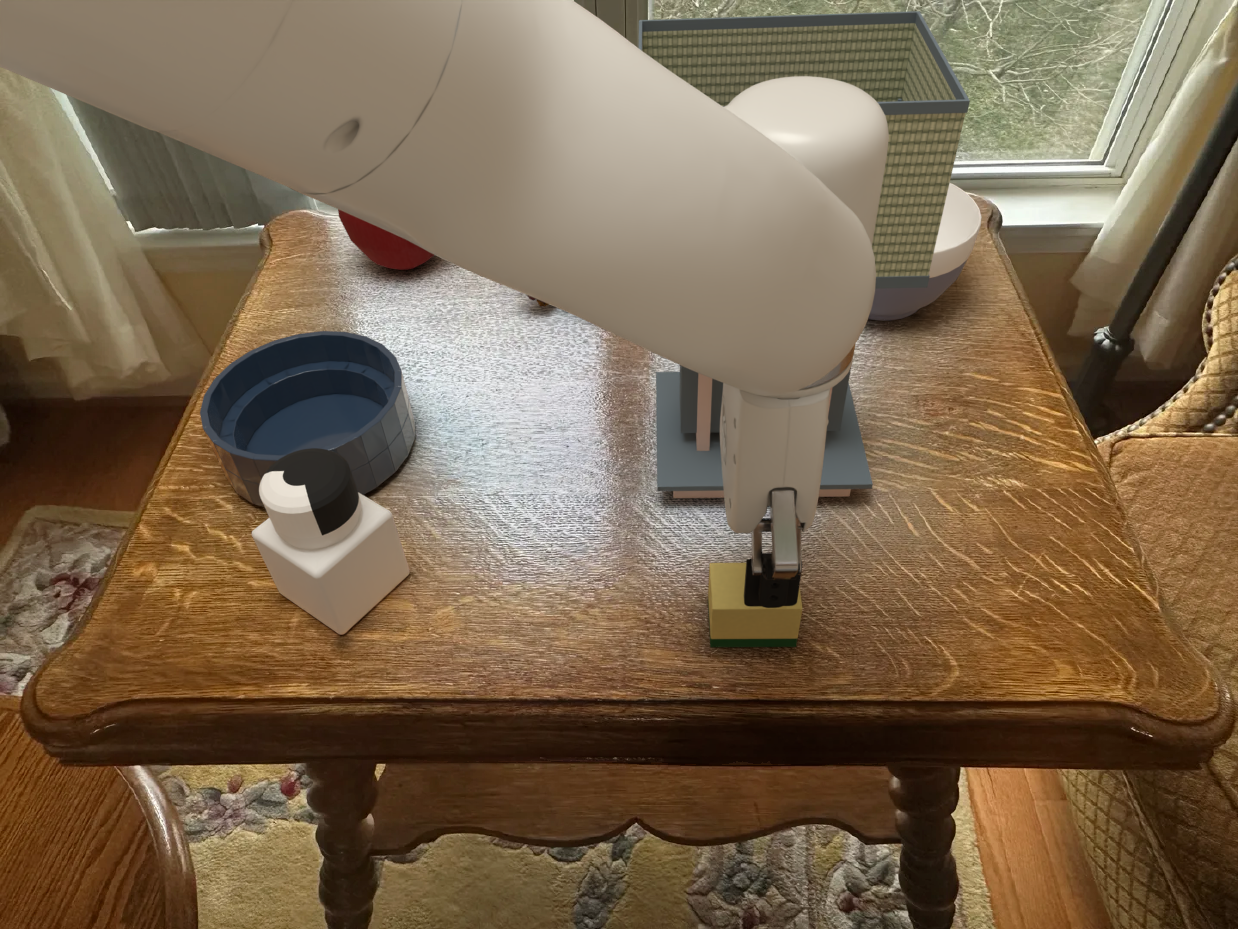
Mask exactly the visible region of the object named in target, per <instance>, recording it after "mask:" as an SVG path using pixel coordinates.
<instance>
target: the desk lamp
mask: <svg viewBox="0 0 1238 929" xmlns="http://www.w3.org/2000/svg"><path fill="white" fill-rule="evenodd" d="M638 48H639V49H640V50H641V51H643V52H644V53H645V54H647V55H648V56H650V57H651V58H652V59H654V60H655V61H657V62H658V63H659V64H661V65H662V66H664V67H665V68H666V69H668V70H669V71H671V72H672V73H674V74H675V75H677V76H678V77H680V78H681V79H683V80H684V81H686V82H687V83H689V84H690V85H692V86H693V87H695V88H696V89H698V90H699V91H700V92H702V93H703V94H705V95H706V96H708V97H709V98H711V99H712V100H714V101H715V102H717V103H718V104H720V105H721V106H723V107H725V106H727V105H728V104H729V103H730V102H731V101H732V100H733V99H734V98H735V97H736V96H737V95H738V94H740V93H741V92H743V91H744V90H746V89H748V88H750V87H751V86H753V85H756V84H758V83H761V82H764V81H768V80H772V79H777V78H783V77H794V76H811V77H822V78H829V79H834V80H838V81H842V82H845V83H848V84H851V85H854V86H856V87H858V88H860V89H862V90H863V91H864V92H866V93H867V94H869V95H870V96H871V97H872V98H874V99H875V100H876V101H877V103H878V104H879V105H880V107H881V109H882V110H883V112H884V114H885V116H886V120H887V125H888V132H889V141H888V150H887V158H886V164H885V170H884V176H883V182H882V188H881V194H880V200H879V206H878V212H877V218H876V224H875V230H874V236H873V242H872V249H873V253H874V257H875V267H876V284H875V289H879V288H927V286H928V282H929V277H930V276H929V271H930V266H931V262H932V258H933V253H934V249H935V245H936V240H937V236H938V231H939V227H940V223H941V218H942V214H943V209H944V205H945V201H946V196H947V192H948V188H949V183H951V178H952V174H953V170H954V166H955V160H956V156H957V153H958V148H959V145H960V144H959V143H960V139H961V136H962V135H961V134H962V130H963V127H964V122H965V118H966V114H968V111H969V107H970V102H971V100H970V98H969V97H968V95H967V93H966V91H965V90H964V88H963V86H962V84H961V82H960V80H959V79H958V77H957V75H956V73H955V71H954V70H953V68H952V67H951V64H950V63H949V61H948V60H947V58H946V56H945V54H944V52H943V50H942V49H941V47H940V45H939V43H938V42H937V40H936V38H935V36H934V35H933V32H932V31H931V29H930V27H929V25H928V23H927V22H926V20H925V18H924V16H923V14H922V13H921V11H920V10H916V11H915V10H912V11H885V12H884V11H880V12H879V11H878V12H851V13H850V12H849V13H819V14H815V13H814V14H795V15H794V14H790V15H789V14H787V15H786V14H785V15H784V14H783V15H759V16H757V15H756V16H753V15H752V16H726V17H725V16H724V17H694V18H691V17H690V18H666V19H665V18H663V19H639V20H638ZM851 370H852V367H851V368H850V371H849V372H848V374H847V375H846V376H845V377H844V379H843V380H842V381H840V382H839V383H838V384H837V385H835V386H834V387H832V388H830V397H829V409H828V425H827V430H826V440H825V450H824V459H823V467H822V475H821V483H820V490H819V497H818V498H825V497H827V498H828V497H829V498H830V497H838V498H839V497H850V495H851V490H872V489H873V480H872V475H871V471H870V467H869V466H870V465H869V462H868V458H867V455H866V450H865V445H864V441H863V438H862V432H861V429H860V424H859V420H858V416H857V412H856V411H857V410H856V408H855V403H854V398H853V395H852V390H851V386H850V381H849V380H850V377H851ZM655 393H656V394H655V404H656V406H655V408H656V409H655V411H656V412H655V413H656V414H655V415H656V418H655V419H656V491H657V492H672V495H673V496H672V497H673V498H672V499H724V488H723V476H722V463H721V449H720V416H721V405H722V394H723V382H720V381H717V380H715V379H712V378H710V377H707V376H705V375H702V374H700V373H697V372H695V371H692V370H690V369H688V368H685V367H683V366H681V365H679V371H655Z"/></svg>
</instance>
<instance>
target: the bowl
mask: <svg viewBox="0 0 1238 929" xmlns="http://www.w3.org/2000/svg"><path fill="white" fill-rule="evenodd" d="M981 225H982V213H981V211H980V207H979V206H978V203H976V201H975V200H974V199H973V197H972V196H971V195H969V193H967V192H966V191H965V190H963V189H962V188H960V187H959V186H957V185H956V184H953V183H952V182H950V183H949V188H948V192H947V196H946V201H945V205H944V209H943V214H942V218H941V223H940V227H939V231H938V236H937V240H936V245H935V249H934V253H933V258H932V262H931V266H930V271H929V276H930V277H929V282H928V286H927V288H879V289H875V294H874V299H873V304H872V308H871V311H870V314H869V317H868V320H872V321H883V322H884V321H885V322H886V321H896V320H900V319H905V318H907V317H910V316H912V315H914V314H916V313H917V312H918V311H919V310H920V309H921V308H924V307H927V306H928V305H930V304H932V303H934V302H935V301H936V300H938V299H939V298H940V297H941V296H942V295H943V294H944V293H945V292H946V291H947V290H948V289H949V288H950V287H951V286H952V285H953V284H954V283H955V282H956V281H957V280H958V278H959V276H960V275H961V273H962V271H963V269H964V267H965V265H966V263H967V261H968V260H969V258H970V256H971V254H972V252H973V250H974V247H975V244H976V241H977V238H978V236H979V231H980V229H981Z"/></svg>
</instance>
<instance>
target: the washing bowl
mask: <svg viewBox="0 0 1238 929" xmlns="http://www.w3.org/2000/svg"><path fill="white" fill-rule="evenodd" d="M199 416H200V421H201V426H202V430H203V432H204V434H205V436H206V439H207V440H208V442H209V444H210V446H211V448H212V451H213V453H214V455H215V456H216V459H217V462H218V463H219V466H220V467H221V470H222V471H223V474H224V477H225V478H226V480H227V481H228V483H229V484H230V486H231V487H232V489H233V490H234V491H235V493H236V494H237V495H239V496H240V497H242V498H244V499H245V500H247V501H248V502H249V503H251V504H253V505H256V506H258V507H262V508H265V507H264V504H263V502H262V500H261V497H260V494H259V486H260V482H261V480H262V478H263V476H264V474H265V473H266V471H267V470H268V469H269V468H270V466H271V465H273V464H274V463H275V462H276V461H277V460H279V459H280V458H282V457H284V456H286V455H288V454H290V453H293V452H295V451H299V450H303V449H311V448H319V449H325V450H329V451H332V452H335V453H337V454H339V455H341V456H342V457H343V458H344V459H345V460H346V461H347V463H348V464H349V467H350V470H351V473H352V476H353V479H354V482H355V485H356V488H357V491H358V492H359V493H360V494H362V495H364V496H365V495H366V494H367V493H370V492H372V491H373V490H376V489H377V488H378V487H379V486H381V485H382V484H383V483H384V482H385V481H387V480H388V479H389V478H390V477H391V476H393V475H394V474H395V473H396V472H397V471H398V470H399V469H400V467H401V466H402V464H404V461H405V460H406V459H407V458H408V456H409V454H410V452H411V449H412V447H413V444H414V441H415V438H416V422H415V421H416V420H415V417H414V413H413V409H412V406H411V401H410V398H409V394H408V388H407V385H406V382H405V378H404V374H403V369H402V368H401V366H400V363H399V361H398V359H397V356H395V354H393V353H392V352H391V351H390V350H389V348H388V347H386V346H385V345H384V344H383V343H381V342H379V341H377V340H375V339H372V338H370V337H368V336H366V335H362V334H357V333H353V332H348V331H339V330H338V331H337V330H319V331H311V332H302V333H296V334H293V335H290V336H285V337H281V338H277V339H275V340H271V341H269V342H267V343H265V344H262V345H260V346H258V347H256V348H254V349H251V350H249V351H248V352H246V353H245V354H242V356H240V357H238V358H237V359H235V360H234V361H232V362H230V364H228V365H227V366H226V367H225V368H223V370H222V371H221V372H220V373H219V374H218V375H216V376H215V377H214V379H213V380H212V382H211V384H210V385H209V386H208V388H207V390H206V391H205V393H204V394H203V398H202V402H201V406H200V411H199Z"/></svg>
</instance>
